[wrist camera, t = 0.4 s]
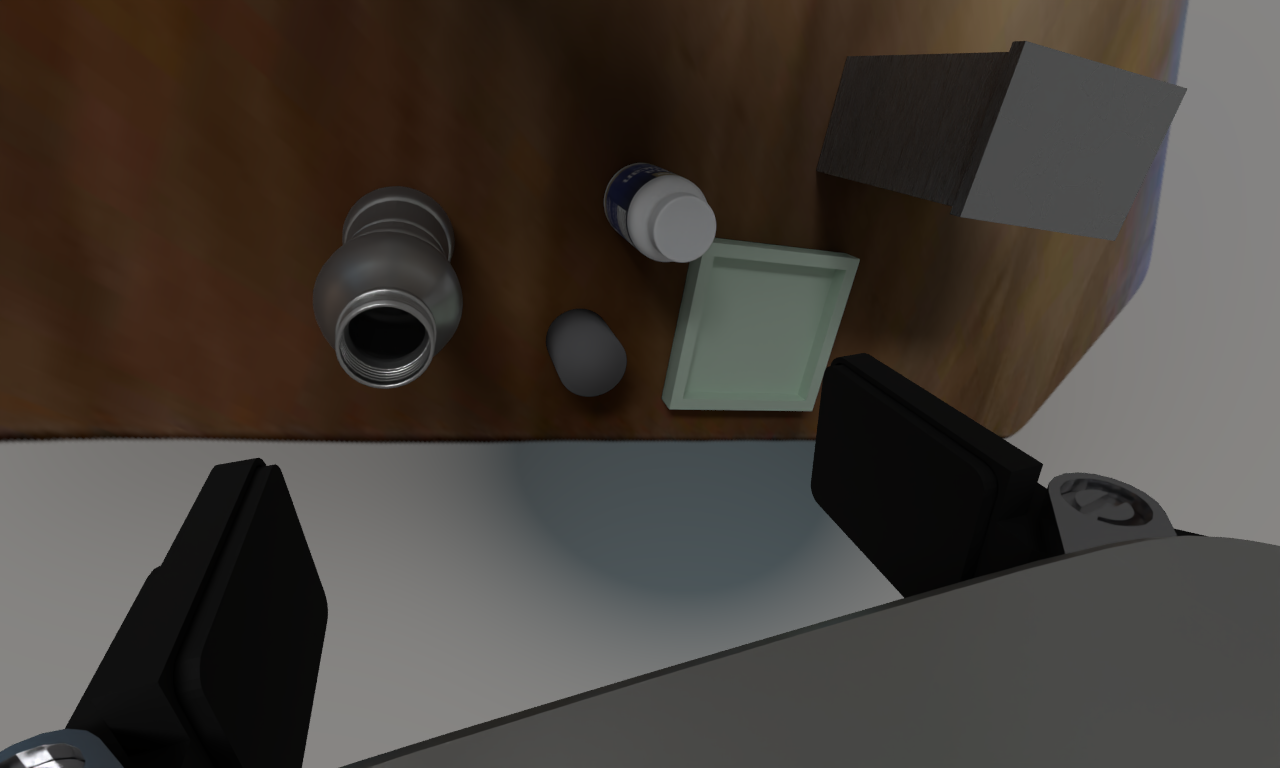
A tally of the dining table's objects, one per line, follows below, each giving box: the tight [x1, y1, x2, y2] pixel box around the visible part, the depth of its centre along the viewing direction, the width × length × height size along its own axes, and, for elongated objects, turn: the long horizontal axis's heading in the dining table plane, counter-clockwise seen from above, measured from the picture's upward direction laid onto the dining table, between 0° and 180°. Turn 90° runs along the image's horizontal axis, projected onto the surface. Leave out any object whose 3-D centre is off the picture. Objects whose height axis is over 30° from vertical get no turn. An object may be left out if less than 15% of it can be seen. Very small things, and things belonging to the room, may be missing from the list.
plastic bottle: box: [313, 186, 463, 389], centre depth 33 cm, size 6×7×20 cm
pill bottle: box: [604, 163, 716, 263], centre depth 41 cm, size 5×5×10 cm
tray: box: [662, 238, 860, 411], centre depth 52 cm, size 14×14×2 cm
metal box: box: [816, 41, 1187, 241], centre depth 42 cm, size 9×13×16 cm
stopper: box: [546, 309, 627, 397], centre depth 46 cm, size 5×5×5 cm
